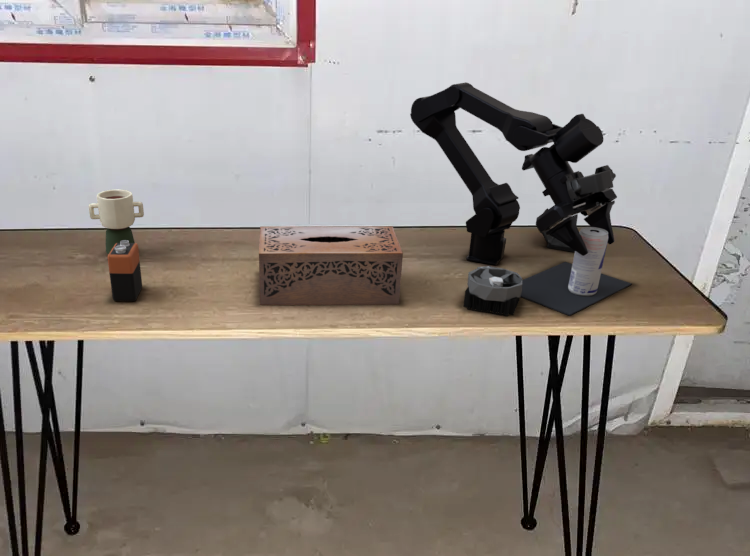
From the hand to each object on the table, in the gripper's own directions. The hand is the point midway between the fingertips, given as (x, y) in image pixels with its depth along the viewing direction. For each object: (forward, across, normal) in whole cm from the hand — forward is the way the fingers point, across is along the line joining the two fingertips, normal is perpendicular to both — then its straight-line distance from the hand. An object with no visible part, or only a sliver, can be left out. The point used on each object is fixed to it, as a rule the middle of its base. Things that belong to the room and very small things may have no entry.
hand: (599, 248), depth 143 cm
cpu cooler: (0, -18, +14) cm, 22 cm away
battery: (-33, -67, +47) cm, 88 cm away
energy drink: (+5, 0, +8) cm, 9 cm away
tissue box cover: (-18, -36, +31) cm, 51 cm away
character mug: (-47, -58, +60) cm, 96 cm away
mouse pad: (+3, 0, +10) cm, 11 cm away
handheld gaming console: (-8, +21, +21) cm, 31 cm away
